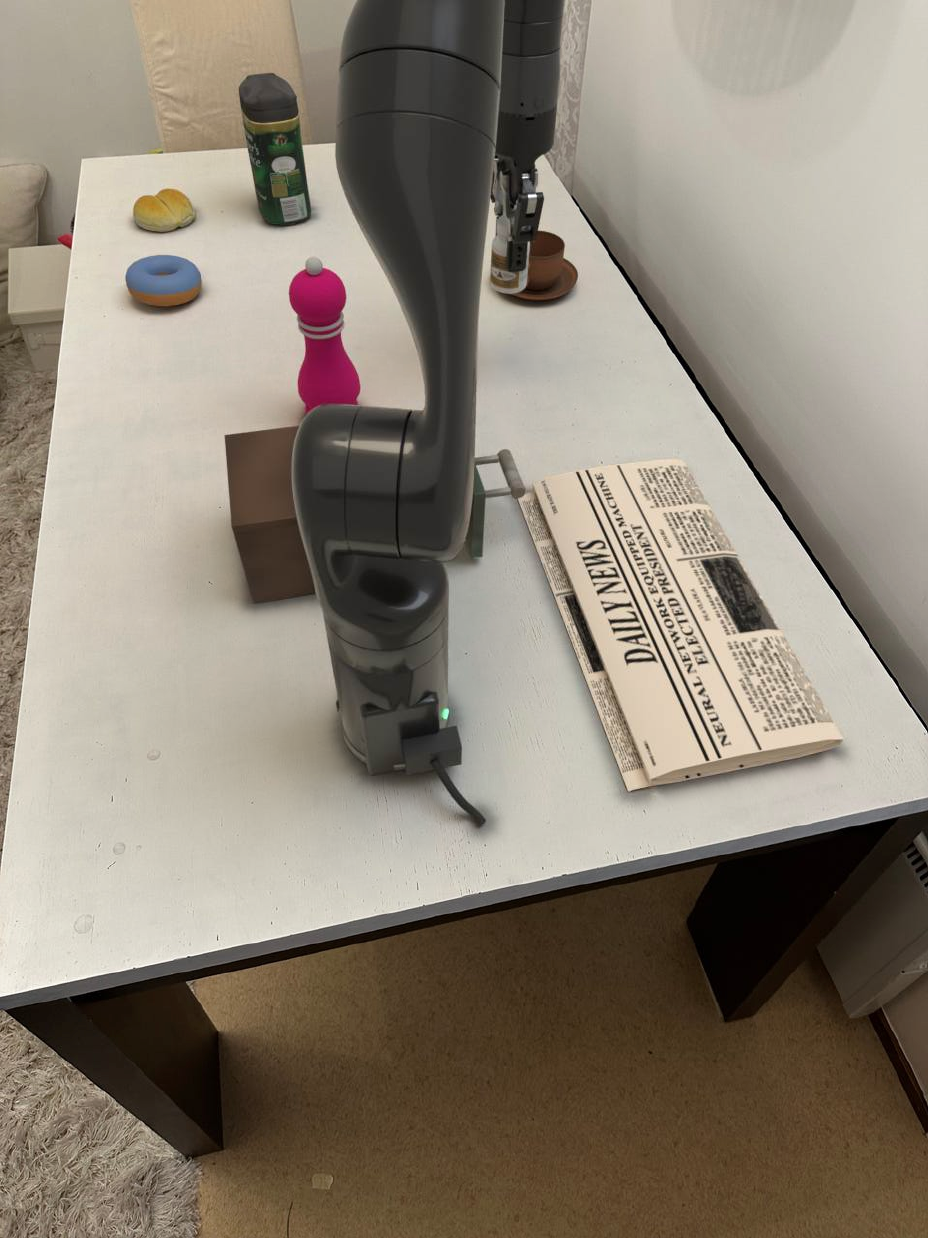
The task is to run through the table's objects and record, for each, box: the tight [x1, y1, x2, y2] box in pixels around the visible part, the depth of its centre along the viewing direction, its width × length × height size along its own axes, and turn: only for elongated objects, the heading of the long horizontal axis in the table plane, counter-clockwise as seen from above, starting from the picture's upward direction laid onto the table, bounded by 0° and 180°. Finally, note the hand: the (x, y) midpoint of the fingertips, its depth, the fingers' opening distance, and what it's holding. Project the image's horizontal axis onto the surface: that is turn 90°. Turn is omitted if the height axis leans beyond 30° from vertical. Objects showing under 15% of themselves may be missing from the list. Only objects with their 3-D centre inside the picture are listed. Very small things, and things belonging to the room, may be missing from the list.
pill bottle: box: [489, 215, 530, 295], centre depth 98 cm, size 4×4×8 cm
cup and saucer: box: [511, 230, 579, 301], centre depth 118 cm, size 12×12×6 cm
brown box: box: [224, 425, 316, 604], centre depth 84 cm, size 15×13×11 cm
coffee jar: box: [238, 72, 312, 226], centre depth 125 cm, size 10×8×19 cm
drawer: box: [465, 448, 527, 559], centre depth 86 cm, size 19×12×9 cm, turn 103°
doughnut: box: [124, 254, 203, 307], centre depth 115 cm, size 10×10×5 cm
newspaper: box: [517, 458, 844, 792], centre depth 83 cm, size 37×19×3 cm, turn 13°
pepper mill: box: [288, 256, 361, 416], centre depth 94 cm, size 7×7×20 cm
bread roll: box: [132, 188, 197, 233], centre depth 129 cm, size 8×9×4 cm
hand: (510, 258), depth 98 cm, fingers closed on pill bottle, 4 cm apart
